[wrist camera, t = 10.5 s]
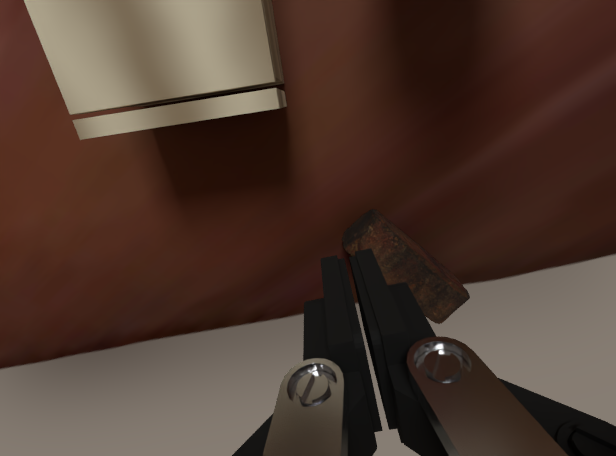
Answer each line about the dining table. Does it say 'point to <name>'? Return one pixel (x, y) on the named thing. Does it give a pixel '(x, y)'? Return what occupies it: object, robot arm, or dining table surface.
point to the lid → (156, 59)
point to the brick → (407, 265)
